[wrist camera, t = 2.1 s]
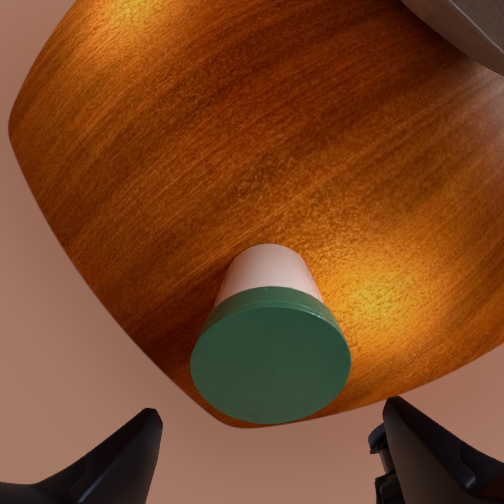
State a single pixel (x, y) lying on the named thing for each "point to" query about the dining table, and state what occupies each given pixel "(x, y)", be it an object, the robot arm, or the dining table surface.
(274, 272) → the jar
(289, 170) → the dining table surface
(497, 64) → the bowl
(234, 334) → the lid
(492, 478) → the robot arm
